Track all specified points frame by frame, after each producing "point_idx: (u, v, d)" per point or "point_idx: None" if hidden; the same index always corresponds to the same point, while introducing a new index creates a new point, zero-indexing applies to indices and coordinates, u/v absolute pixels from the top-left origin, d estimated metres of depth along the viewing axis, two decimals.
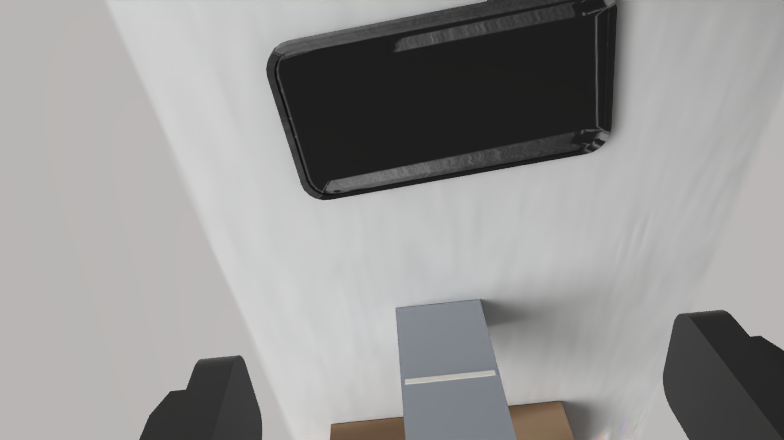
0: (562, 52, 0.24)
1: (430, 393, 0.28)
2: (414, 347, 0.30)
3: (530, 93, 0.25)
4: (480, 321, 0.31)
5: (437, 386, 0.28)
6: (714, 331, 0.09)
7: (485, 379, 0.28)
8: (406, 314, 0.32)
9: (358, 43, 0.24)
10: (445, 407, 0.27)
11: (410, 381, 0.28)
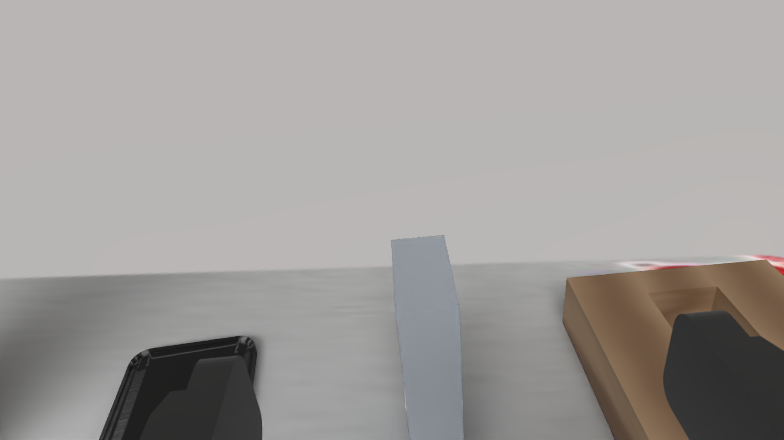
0: (167, 372, 0.34)
1: None
2: None
3: None
4: None
5: None
6: (714, 331, 0.09)
7: None
8: None
9: None
10: None
11: (405, 402, 0.24)
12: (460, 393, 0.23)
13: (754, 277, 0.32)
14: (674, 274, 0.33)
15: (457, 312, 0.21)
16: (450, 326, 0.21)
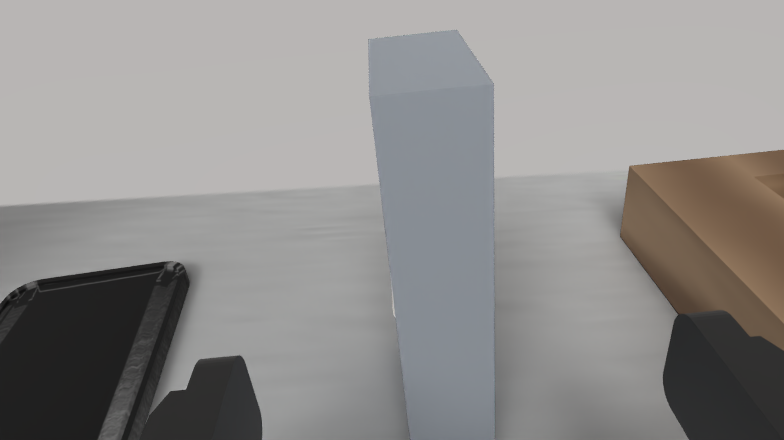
0: (57, 307, 0.24)
1: None
2: None
3: (83, 324, 0.22)
4: None
5: None
6: (714, 331, 0.09)
7: None
8: None
9: None
10: None
11: None
12: (491, 281, 0.13)
13: None
14: None
15: (489, 98, 0.11)
16: (474, 131, 0.11)
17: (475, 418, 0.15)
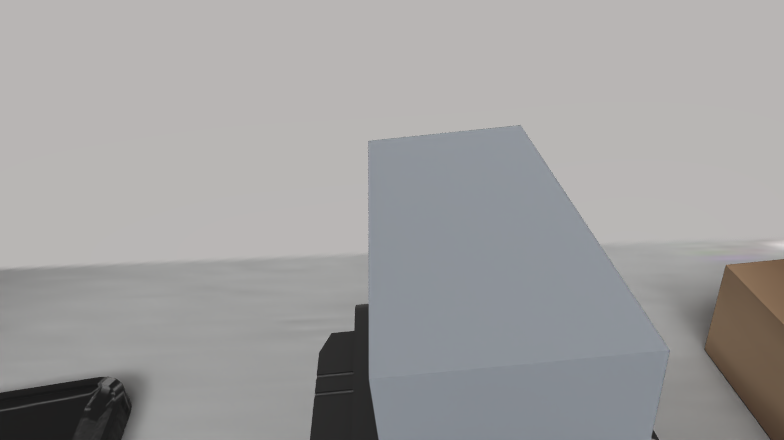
0: None
1: None
2: None
3: None
4: None
5: None
6: None
7: None
8: None
9: None
10: None
11: None
12: None
13: None
14: None
15: (654, 377, 0.05)
16: (609, 432, 0.05)
17: None
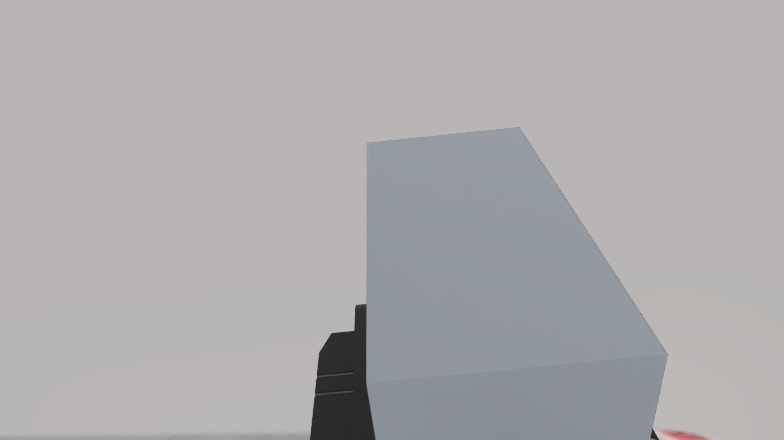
0: None
1: None
2: None
3: None
4: None
5: None
6: None
7: None
8: None
9: None
10: None
11: None
12: None
13: None
14: None
15: (652, 381, 0.05)
16: (607, 436, 0.05)
17: None
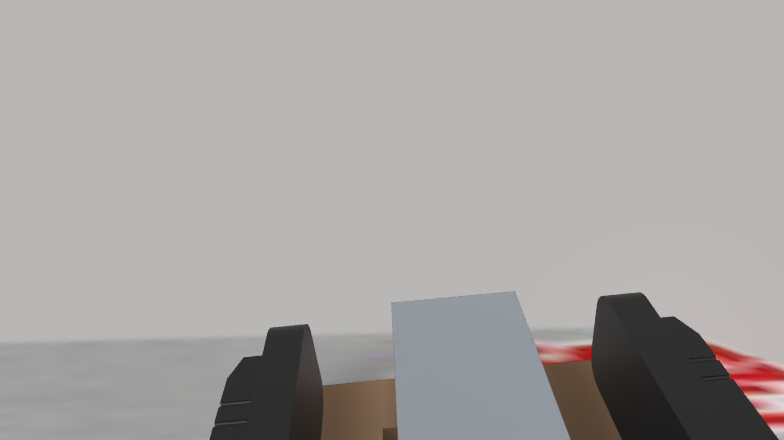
0: None
1: None
2: None
3: None
4: None
5: None
6: (627, 311, 0.10)
7: None
8: None
9: None
10: None
11: None
12: None
13: (583, 397, 0.18)
14: None
15: None
16: None
17: None
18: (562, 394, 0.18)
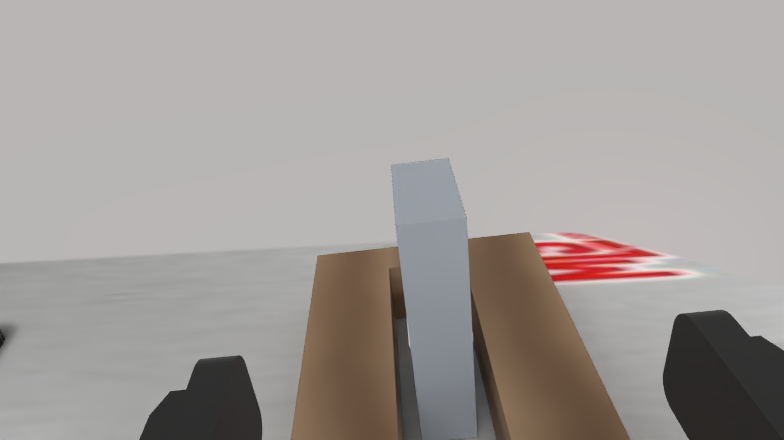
0: None
1: None
2: None
3: None
4: None
5: None
6: (714, 331, 0.09)
7: None
8: None
9: None
10: None
11: (408, 339, 0.22)
12: (470, 325, 0.21)
13: (506, 250, 0.30)
14: None
15: (464, 225, 0.19)
16: (456, 242, 0.19)
17: (463, 412, 0.23)
18: (494, 249, 0.30)
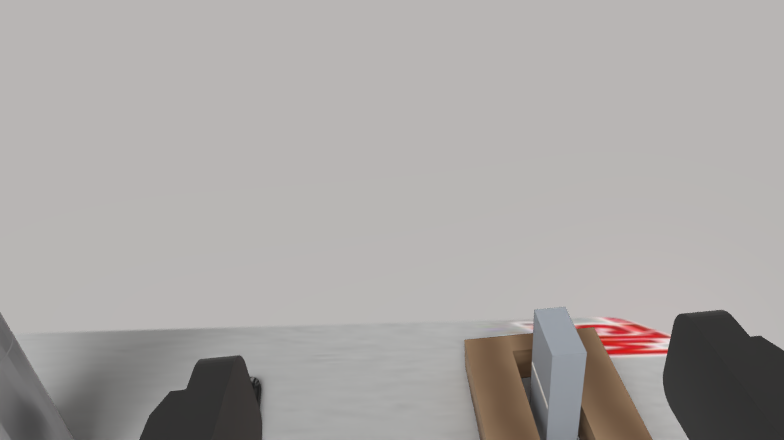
0: None
1: (544, 387, 0.42)
2: (544, 420, 0.44)
3: None
4: (531, 395, 0.48)
5: (542, 386, 0.43)
6: (714, 331, 0.09)
7: (534, 365, 0.45)
8: None
9: None
10: (542, 372, 0.42)
11: (546, 404, 0.42)
12: (580, 399, 0.41)
13: (581, 340, 0.50)
14: None
15: (585, 355, 0.39)
16: (580, 362, 0.39)
17: None
18: None
